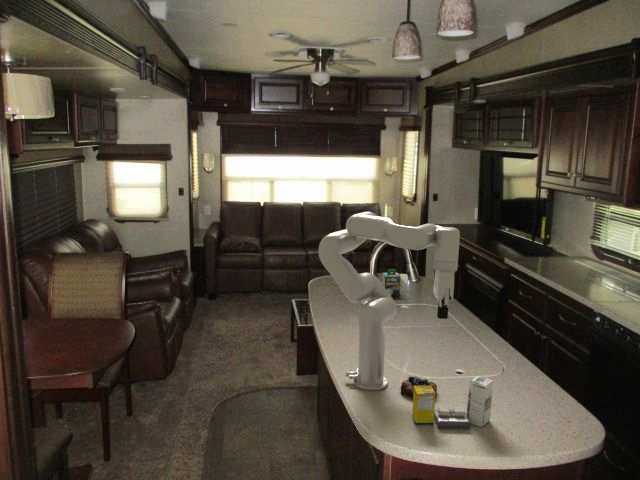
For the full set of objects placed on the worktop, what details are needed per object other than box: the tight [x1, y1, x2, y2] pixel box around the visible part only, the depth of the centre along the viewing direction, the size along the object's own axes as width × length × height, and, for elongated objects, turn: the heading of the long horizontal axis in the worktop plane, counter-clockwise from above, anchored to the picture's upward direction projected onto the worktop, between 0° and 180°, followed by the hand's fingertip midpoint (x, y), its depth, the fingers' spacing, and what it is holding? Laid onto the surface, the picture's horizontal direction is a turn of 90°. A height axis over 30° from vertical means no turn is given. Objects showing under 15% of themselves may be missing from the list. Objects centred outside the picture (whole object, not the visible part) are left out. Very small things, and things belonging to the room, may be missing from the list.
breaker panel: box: [434, 408, 471, 430], centre depth 178 cm, size 10×8×3 cm
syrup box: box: [466, 375, 494, 428], centre depth 178 cm, size 6×6×14 cm
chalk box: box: [381, 268, 401, 297], centre depth 317 cm, size 9×9×15 cm
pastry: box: [400, 375, 438, 399], centre depth 198 cm, size 11×12×6 cm
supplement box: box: [412, 386, 436, 426], centre depth 178 cm, size 6×6×11 cm
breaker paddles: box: [437, 406, 466, 416], centre depth 178 cm, size 8×2×2 cm, turn 89°
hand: (442, 317), depth 185 cm, fingers closed
